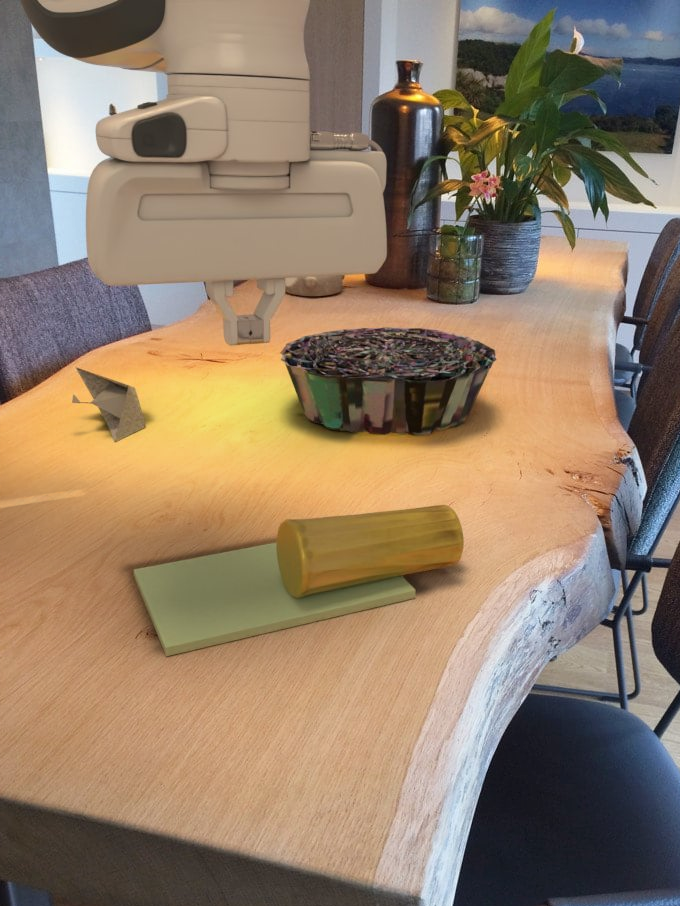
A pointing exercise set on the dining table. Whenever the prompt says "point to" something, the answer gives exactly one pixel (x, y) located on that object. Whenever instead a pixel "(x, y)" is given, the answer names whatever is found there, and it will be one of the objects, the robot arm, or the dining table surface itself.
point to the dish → (314, 285)
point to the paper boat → (114, 404)
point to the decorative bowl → (387, 378)
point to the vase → (366, 547)
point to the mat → (243, 598)
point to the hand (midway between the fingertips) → (247, 342)
